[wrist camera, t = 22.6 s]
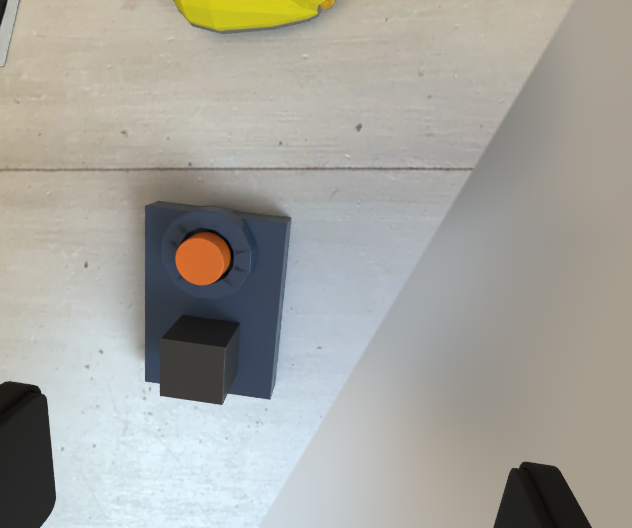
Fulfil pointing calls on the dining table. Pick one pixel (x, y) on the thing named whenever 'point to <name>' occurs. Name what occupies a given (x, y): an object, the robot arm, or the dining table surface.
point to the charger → (199, 359)
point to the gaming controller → (249, 13)
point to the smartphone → (6, 25)
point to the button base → (219, 286)
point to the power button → (203, 258)
